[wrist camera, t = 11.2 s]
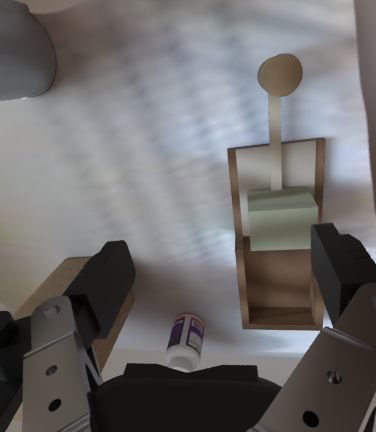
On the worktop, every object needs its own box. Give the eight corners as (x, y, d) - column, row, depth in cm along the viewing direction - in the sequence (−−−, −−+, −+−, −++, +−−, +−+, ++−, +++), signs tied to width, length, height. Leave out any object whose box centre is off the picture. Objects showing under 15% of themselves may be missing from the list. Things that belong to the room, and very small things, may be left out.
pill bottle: (175, 333, 52) (162, 385, 43) (173, 311, 49) (159, 361, 41) (205, 336, 51) (198, 389, 42) (204, 313, 49) (196, 365, 40)
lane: (227, 148, 35) (226, 158, 31) (323, 137, 33) (334, 146, 29) (242, 307, 46) (242, 329, 43) (315, 307, 44) (322, 330, 40)
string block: (238, 63, 30) (237, 61, 24) (309, 50, 28) (329, 45, 22) (249, 225, 38) (251, 256, 32) (305, 222, 37) (318, 253, 30)
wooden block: (65, 257, 48) (-37, 365, 30) (119, 254, 46) (44, 369, 28) (84, 302, 52) (4, 420, 35) (135, 302, 50) (77, 427, 32)
